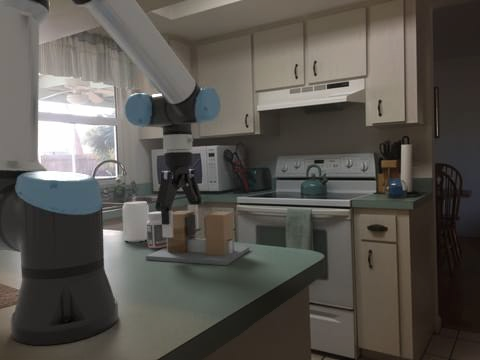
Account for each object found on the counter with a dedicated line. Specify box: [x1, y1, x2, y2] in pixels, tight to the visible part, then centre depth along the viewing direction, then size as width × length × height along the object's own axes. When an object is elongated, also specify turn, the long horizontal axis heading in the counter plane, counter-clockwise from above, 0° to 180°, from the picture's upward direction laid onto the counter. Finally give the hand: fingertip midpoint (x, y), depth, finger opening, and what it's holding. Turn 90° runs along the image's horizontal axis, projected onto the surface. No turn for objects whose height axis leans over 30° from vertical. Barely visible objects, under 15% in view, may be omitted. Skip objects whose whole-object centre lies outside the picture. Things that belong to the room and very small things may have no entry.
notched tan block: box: [167, 210, 197, 253], centre depth 110 cm, size 6×6×10 cm
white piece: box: [121, 200, 150, 243], centre depth 132 cm, size 8×8×12 cm
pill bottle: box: [146, 211, 167, 249], centre depth 121 cm, size 6×6×10 cm
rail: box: [145, 211, 250, 266], centre depth 108 cm, size 16×22×11 cm
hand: (181, 232), depth 110 cm, fingers open, 13 cm apart
